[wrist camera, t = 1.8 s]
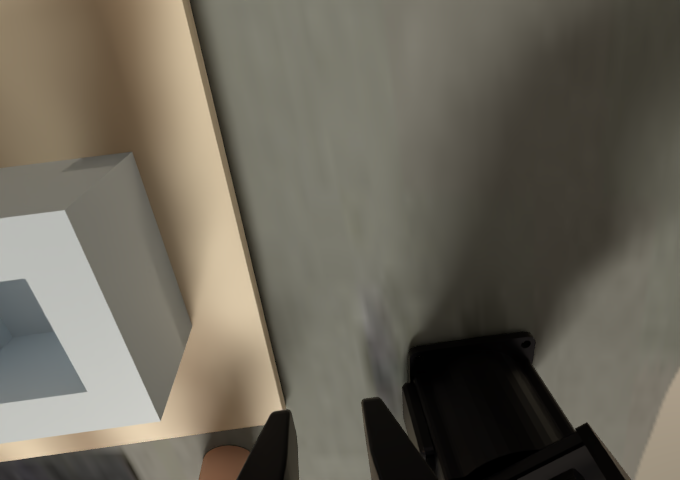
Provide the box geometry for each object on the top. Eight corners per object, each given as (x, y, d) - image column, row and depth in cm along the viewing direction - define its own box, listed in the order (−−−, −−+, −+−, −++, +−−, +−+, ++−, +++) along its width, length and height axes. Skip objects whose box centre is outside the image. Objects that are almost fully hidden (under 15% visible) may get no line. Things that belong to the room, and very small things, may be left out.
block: (132, 152, 15) (64, 210, 11) (192, 326, 19) (160, 421, 15) (-98, 180, 15) (-260, 251, 11) (10, 350, 19) (-77, 454, 15)
